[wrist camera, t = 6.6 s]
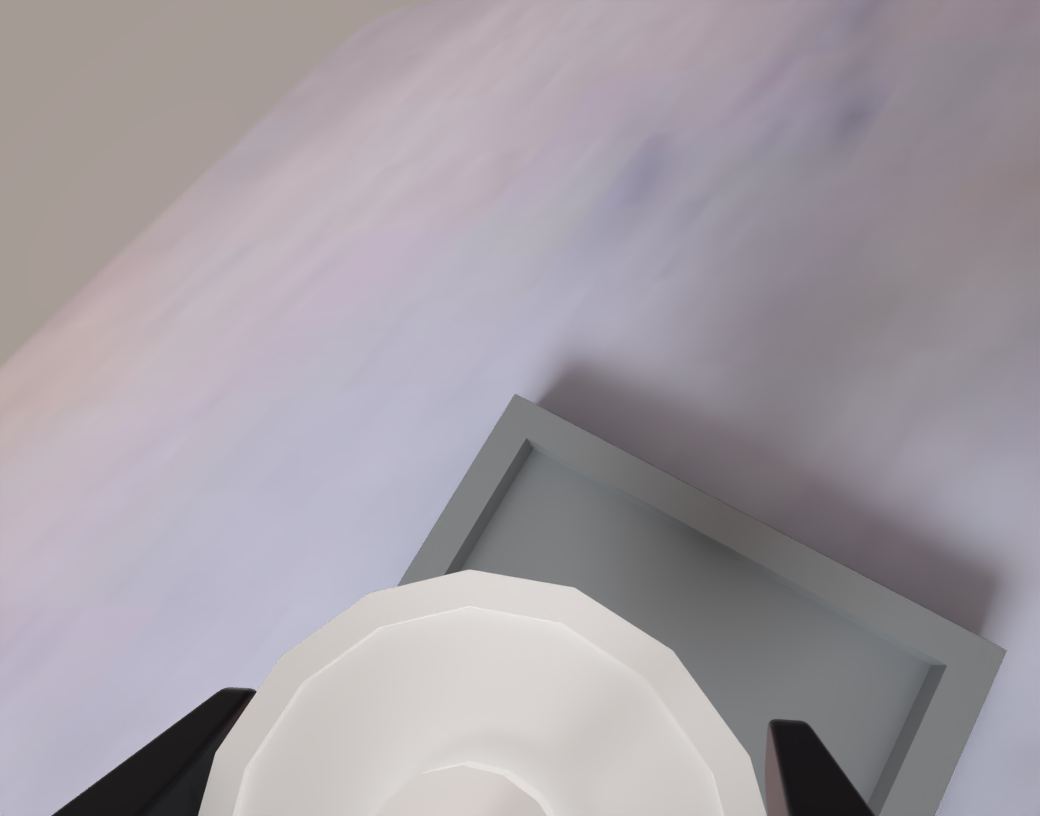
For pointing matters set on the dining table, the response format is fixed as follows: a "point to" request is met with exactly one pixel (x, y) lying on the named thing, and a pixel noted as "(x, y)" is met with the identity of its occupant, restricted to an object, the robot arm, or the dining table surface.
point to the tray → (725, 604)
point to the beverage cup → (480, 715)
